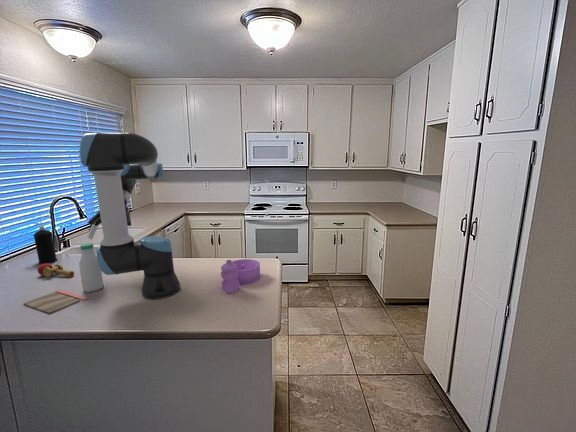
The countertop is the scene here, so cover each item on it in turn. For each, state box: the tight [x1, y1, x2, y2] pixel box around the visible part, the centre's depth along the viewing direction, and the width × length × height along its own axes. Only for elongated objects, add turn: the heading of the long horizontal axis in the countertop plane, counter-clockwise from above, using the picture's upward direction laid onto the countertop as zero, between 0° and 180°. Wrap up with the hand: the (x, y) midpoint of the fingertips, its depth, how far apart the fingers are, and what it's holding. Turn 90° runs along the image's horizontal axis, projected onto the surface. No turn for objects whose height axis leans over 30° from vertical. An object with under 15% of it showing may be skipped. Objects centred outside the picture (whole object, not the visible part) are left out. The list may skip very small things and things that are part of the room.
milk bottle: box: [78, 242, 104, 293], centre depth 136 cm, size 8×8×20 cm
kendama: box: [37, 263, 75, 278], centre depth 153 cm, size 8×6×18 cm
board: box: [23, 291, 81, 315], centre depth 125 cm, size 18×11×1 cm, turn 64°
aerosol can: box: [33, 225, 58, 265], centre depth 172 cm, size 8×8×20 cm
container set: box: [220, 258, 261, 294], centre depth 139 cm, size 25×15×13 cm, turn 165°
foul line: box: [54, 289, 89, 302], centre depth 131 cm, size 20×2×1 cm, turn 64°
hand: (103, 238), depth 144 cm, fingers open, 13 cm apart
